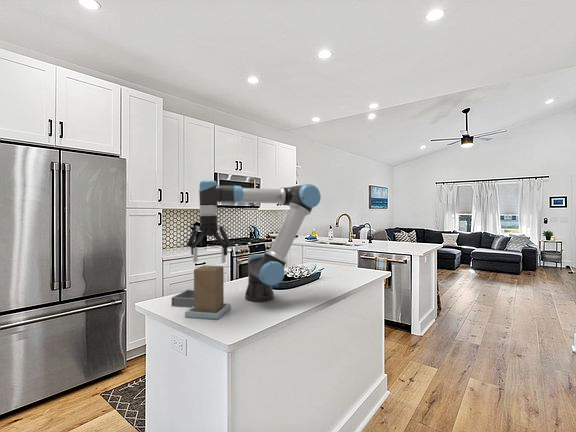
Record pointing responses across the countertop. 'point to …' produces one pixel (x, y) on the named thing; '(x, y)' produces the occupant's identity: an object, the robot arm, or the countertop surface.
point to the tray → (205, 315)
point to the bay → (184, 299)
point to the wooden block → (208, 289)
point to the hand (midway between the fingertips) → (209, 262)
